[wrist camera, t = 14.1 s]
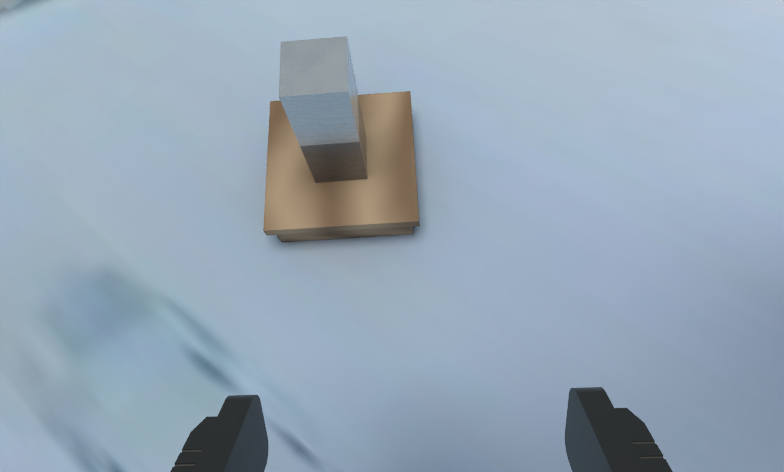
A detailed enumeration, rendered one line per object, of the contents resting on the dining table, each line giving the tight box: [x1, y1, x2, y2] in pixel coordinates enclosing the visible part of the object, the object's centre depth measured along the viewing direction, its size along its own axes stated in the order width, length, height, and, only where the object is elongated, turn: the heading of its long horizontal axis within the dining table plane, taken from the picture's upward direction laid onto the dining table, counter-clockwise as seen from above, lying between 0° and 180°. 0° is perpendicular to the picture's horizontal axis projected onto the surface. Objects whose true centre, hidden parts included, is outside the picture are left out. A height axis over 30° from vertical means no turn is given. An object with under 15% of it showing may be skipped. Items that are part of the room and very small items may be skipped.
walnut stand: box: [263, 91, 419, 242], centre depth 47 cm, size 13×13×4 cm
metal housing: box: [279, 36, 368, 183], centre depth 39 cm, size 4×4×12 cm
